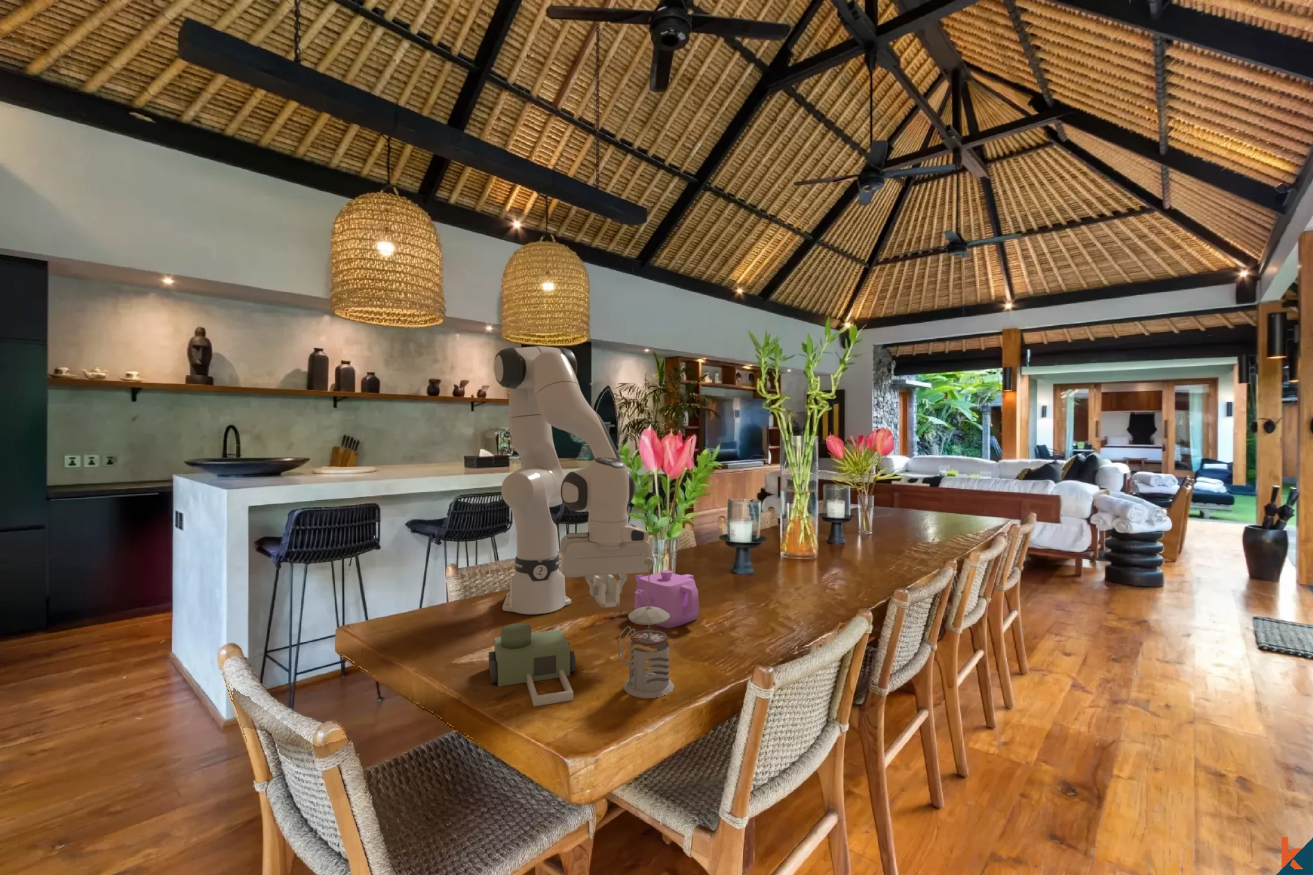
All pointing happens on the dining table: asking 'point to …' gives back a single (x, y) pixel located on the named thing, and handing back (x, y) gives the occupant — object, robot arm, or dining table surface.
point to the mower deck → (532, 660)
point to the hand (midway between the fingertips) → (605, 593)
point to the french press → (648, 652)
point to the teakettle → (669, 596)
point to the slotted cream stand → (607, 591)
